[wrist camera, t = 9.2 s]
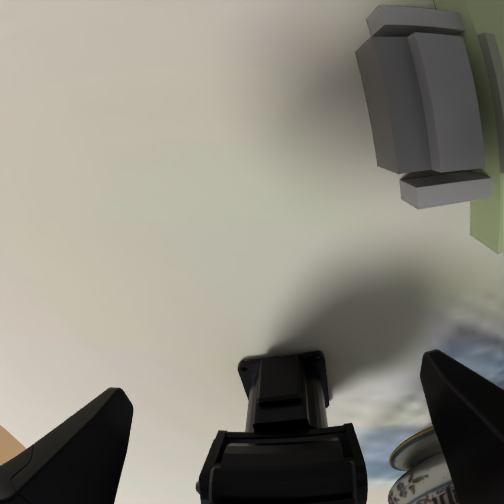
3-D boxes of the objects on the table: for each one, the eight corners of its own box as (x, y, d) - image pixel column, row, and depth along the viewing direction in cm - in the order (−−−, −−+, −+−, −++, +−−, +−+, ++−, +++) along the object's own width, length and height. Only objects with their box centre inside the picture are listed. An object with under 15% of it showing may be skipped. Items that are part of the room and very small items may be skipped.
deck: (544, 218, 16) (577, 236, 12) (404, 248, 18) (431, 278, 15) (513, 3, 10) (544, -8, 6) (350, -23, 12) (368, -55, 8)
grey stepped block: (445, 157, 16) (485, 168, 12) (376, 165, 17) (405, 176, 13) (426, 52, 14) (462, 36, 10) (354, 52, 15) (377, 31, 10)
